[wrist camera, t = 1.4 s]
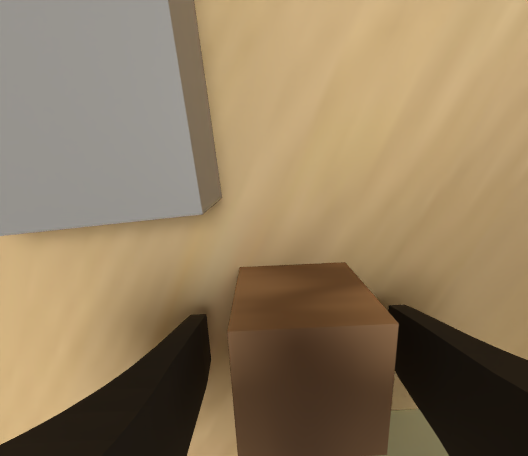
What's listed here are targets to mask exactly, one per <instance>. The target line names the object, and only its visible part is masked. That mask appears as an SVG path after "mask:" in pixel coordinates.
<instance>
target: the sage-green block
mask: <svg viewBox="0 0 528 456" xmlns="http://www.w3.org/2000/svg"><path fill="white" fill-rule="evenodd" d="M379 456H449V455H448V453H447V452H446V450H445V448H444V447H443V445H442V443H441V442H440V440H439V438H438V437H437V435H436V434H435V432H434V431H433V429H432V428H431V426H430V425H429V423H428V422H427V420H426V419H425V417H424V416H423V414H422V413H421V411H420V410H419V409H410V410H391V416H390V428H389V439H388V450H387V455H379Z"/></svg>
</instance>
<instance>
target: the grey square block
mask: <svg viewBox="0 0 528 456" xmlns="http://www.w3.org/2000/svg"><path fill="white" fill-rule="evenodd" d="M221 198H222V194H221V187H220V180H219V173H218V166H217V159H216V152H215V145H214V138H213V131H212V123H211V116H210V109H209V102H208V95H207V88H206V81H205V74H204V67H203V60H202V53H201V46H200V39H199V32H198V25H197V18H196V11H195V4H194V0H0V236H4V235H13V234H23V233H32V232H42V231H51V230H60V229H70V228H79V227H88V226H98V225H107V224H116V223H126V222H135V221H145V220H154V219H163V218H173V217H182V216H191V215H201V214H204V213H205V212H206V211H207V210H208V209H209V208H210V207H212V206H213V205H214V204H215V203H216V202H217V201H219V200H220V199H221Z"/></svg>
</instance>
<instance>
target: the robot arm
mask: <svg viewBox="0 0 528 456" xmlns="http://www.w3.org/2000/svg"><path fill="white" fill-rule="evenodd" d="M388 312H389V313H390V314H391V315H392V316H393V318H394V319H395V320H396V321H397V322H398V323H399V326H398V338H397V349H396V360H395V371H396V373H397V375H398V377H399V379H400V380H401V382H402V383H403V385H404V386H405V388H406V390H407V391H408V393H409V394H410V396H411V397H412V399H413V400H414V402H415V403H416V405H417V406H418V408H419V410H420V411H421V413H422V414H423V416H424V417H425V419H426V420H427V422H428V423H429V425H430V426H431V428H432V429H433V431H434V432H435V434H436V435H437V437H438V438H439V440H440V442H441V443H442V445H443V447H444V448H445V450H446V452H447V453H448V455H449V456H528V360H526V359H523V358H520V357H518V356H515V355H513V354H510V353H508V352H506V351H503V350H501V349H499V348H496V347H494V346H492V345H489V344H487V343H485V342H483V341H480V340H478V339H476V338H474V337H472V336H470V335H467V334H465V333H463V332H461V331H459V330H457V329H455V328H453V327H451V326H449V325H447V324H445V323H443V322H441V321H439V320H437V319H434V318H432V317H430V316H428V315H426V314H424V313H422V312H420V311H418V310H416V309H414V308H411V307H409V306H406V305H390V306H389V310H388ZM210 362H211V354H210V344H209V335H208V326H207V316H206V314H200V315H190V316H189V317H188V318H187V319H186V320H184V321H183V322H182V323H181V324H180V325H179V326H178V327H177V328H176V329H175V330H174V331H173V332H172V333H170V334H169V335H168V336H167V337H166V338H165V339H164V340H163V341H162V342H160V343H159V344H158V345H157V346H156V347H155V348H154V349H152V350H151V351H150V352H149V353H147V354H146V355H145V356H144V357H143V358H141V359H140V360H139V361H138V362H136V363H135V364H134V365H133V366H131V367H130V368H129V369H128V370H126V371H125V372H123V373H122V374H121V375H119V376H118V377H116V378H115V379H114V380H112V381H111V382H109V383H108V384H106V385H105V386H104V387H102V388H101V389H99V390H97V391H96V392H94V393H93V394H91V395H89V396H88V397H86V398H85V399H83V400H81V401H80V402H78V403H76V404H75V405H73V406H71V407H70V408H68V409H67V410H65V411H63V412H62V413H60V414H58V415H56V416H54V417H53V418H51V419H49V420H47V421H45V422H44V423H42V424H40V425H38V426H36V427H34V428H32V429H31V430H29V431H27V432H25V433H23V434H21V435H19V436H17V437H15V438H13V439H11V440H9V441H7V442H5V443H3V444H1V445H0V456H187V453H188V449H189V446H190V442H191V439H192V435H193V432H194V428H195V425H196V421H197V418H198V414H199V411H200V407H201V404H202V400H203V397H204V393H205V390H206V386H207V381H208V375H209V369H210Z"/></svg>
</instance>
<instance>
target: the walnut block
mask: <svg viewBox="0 0 528 456" xmlns="http://www.w3.org/2000/svg"><path fill="white" fill-rule="evenodd" d="M398 326H399V323H398V322H397V321H396V320H395V319H394V318H393V316H392V315H391V314H390V313H389V312H388V311H387V310H386V309H385V307H384V306H383V305H382V304H381V303H380V302H379V301H378V299H377V298H376V297H375V296H374V295H373V294H372V293H371V291H370V290H369V289H368V288H367V287H366V286H365V285H364V283H363V282H362V281H361V280H360V279H359V278H358V277H357V275H356V274H355V273H354V272H353V271H352V270H351V269H350V267H349V266H348V265H347V264H346V263H345V262H343V263H322V264H301V265H279V266H258V267H240V269H239V274H238V279H237V284H236V289H235V294H234V300H233V305H232V310H231V315H230V320H229V325H228V330H227V335H228V347H229V358H230V370H231V381H232V393H233V404H234V416H235V427H236V439H237V450H238V456H379V455H387V450H388V439H389V428H390V416H391V405H392V394H393V383H394V371H395V360H396V349H397V338H398Z"/></svg>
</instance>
